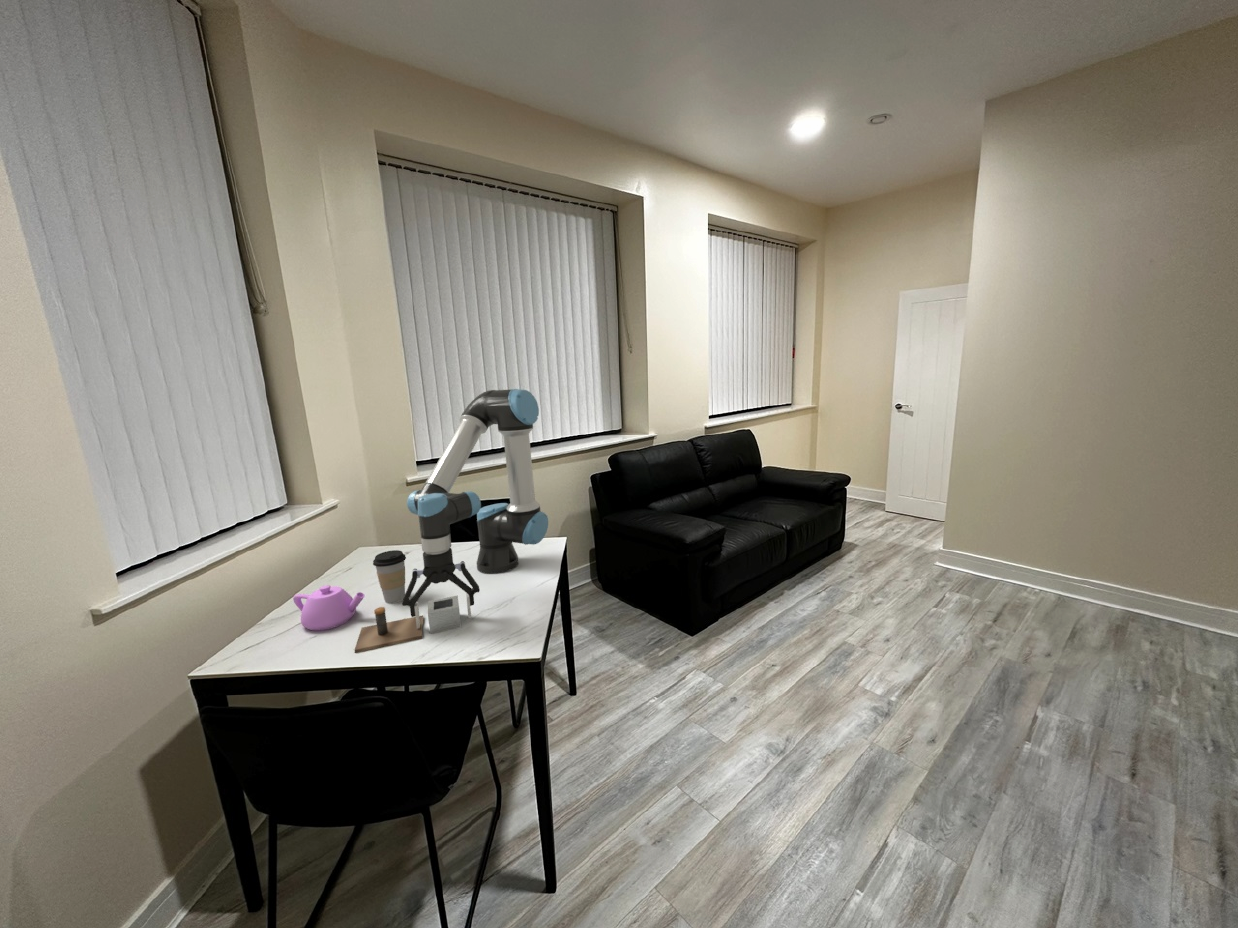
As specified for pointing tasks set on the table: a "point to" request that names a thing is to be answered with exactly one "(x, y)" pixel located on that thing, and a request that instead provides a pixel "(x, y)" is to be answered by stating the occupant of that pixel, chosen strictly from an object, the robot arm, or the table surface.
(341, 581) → the table surface
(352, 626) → the table surface
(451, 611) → the hollow square block
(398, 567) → the coffee cup
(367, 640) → the keeper
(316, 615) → the teapot
